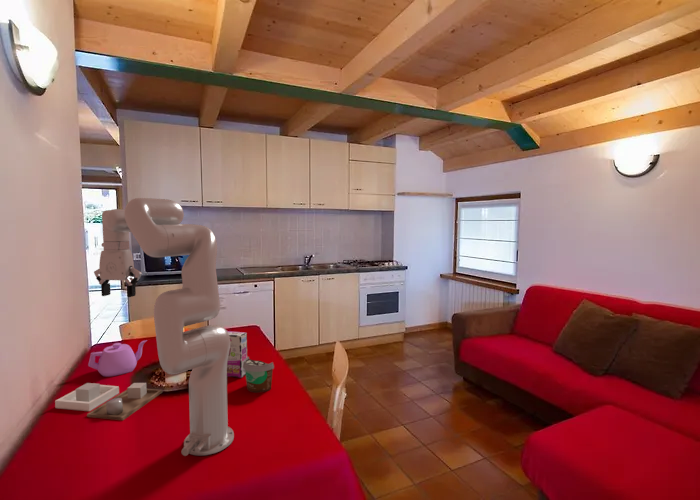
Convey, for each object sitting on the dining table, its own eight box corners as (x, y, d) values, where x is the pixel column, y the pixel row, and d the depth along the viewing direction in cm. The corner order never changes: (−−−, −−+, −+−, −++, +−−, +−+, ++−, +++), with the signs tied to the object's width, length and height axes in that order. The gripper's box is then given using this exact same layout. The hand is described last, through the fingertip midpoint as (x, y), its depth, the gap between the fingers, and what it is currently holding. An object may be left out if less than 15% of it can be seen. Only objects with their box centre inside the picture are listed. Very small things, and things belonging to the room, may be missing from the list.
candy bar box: (248, 373, 144) (247, 332, 142) (241, 378, 139) (240, 336, 137) (222, 370, 146) (222, 329, 145) (215, 375, 141) (214, 333, 140)
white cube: (140, 398, 121) (140, 387, 121) (127, 398, 121) (127, 388, 121) (146, 393, 125) (146, 382, 125) (134, 393, 125) (133, 382, 125)
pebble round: (106, 417, 109) (105, 405, 109) (107, 411, 113) (106, 400, 113) (123, 413, 112) (121, 401, 111) (123, 407, 115) (122, 396, 115)
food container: (235, 389, 130) (235, 361, 129) (248, 382, 135) (247, 356, 134) (262, 397, 124) (262, 368, 123) (274, 390, 130) (274, 362, 129)
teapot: (151, 370, 146) (150, 342, 145) (89, 383, 134) (88, 353, 133) (145, 360, 156) (144, 334, 155) (87, 371, 144) (86, 344, 143)
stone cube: (89, 403, 117) (88, 389, 117) (76, 402, 118) (75, 389, 118) (100, 396, 122) (99, 383, 122) (87, 396, 122) (87, 382, 122)
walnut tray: (123, 422, 108) (123, 417, 108) (87, 418, 110) (86, 414, 110) (162, 393, 126) (162, 389, 126) (131, 391, 128) (130, 387, 128)
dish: (89, 413, 113) (89, 403, 113) (55, 409, 115) (55, 400, 115) (119, 394, 125) (118, 386, 125) (87, 392, 127) (87, 383, 126)
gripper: (84, 246, 123) (87, 297, 124) (131, 247, 120) (133, 299, 122) (102, 245, 130) (105, 292, 132) (147, 246, 128) (149, 294, 129)
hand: (118, 295), depth 127 cm, fingers open, 9 cm apart
